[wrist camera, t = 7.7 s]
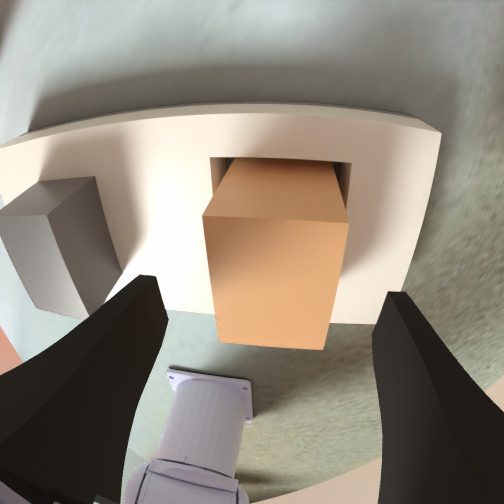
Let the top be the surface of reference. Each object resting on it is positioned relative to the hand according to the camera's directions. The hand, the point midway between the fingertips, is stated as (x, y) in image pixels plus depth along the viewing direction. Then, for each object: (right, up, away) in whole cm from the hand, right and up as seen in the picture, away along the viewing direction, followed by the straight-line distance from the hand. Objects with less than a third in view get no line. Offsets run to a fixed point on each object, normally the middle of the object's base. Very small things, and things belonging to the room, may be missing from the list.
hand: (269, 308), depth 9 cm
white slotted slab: (-4, +5, +7) cm, 9 cm away
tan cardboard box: (+1, +4, +5) cm, 7 cm away
